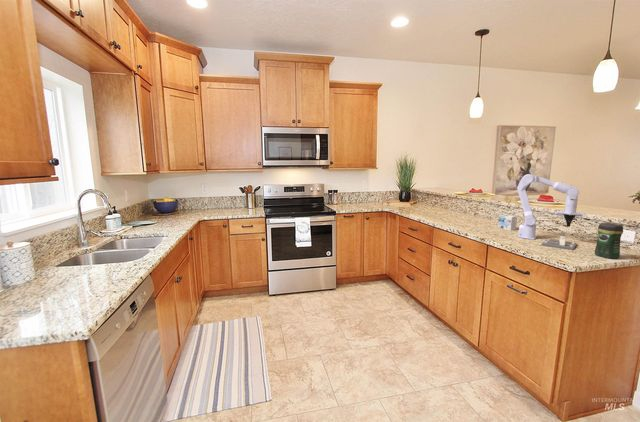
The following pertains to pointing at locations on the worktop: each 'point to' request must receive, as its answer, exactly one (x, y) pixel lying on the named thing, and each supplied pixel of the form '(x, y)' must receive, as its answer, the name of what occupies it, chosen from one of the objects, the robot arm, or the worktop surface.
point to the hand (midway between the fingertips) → (568, 226)
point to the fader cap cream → (562, 241)
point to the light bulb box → (507, 222)
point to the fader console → (557, 244)
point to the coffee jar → (609, 240)
